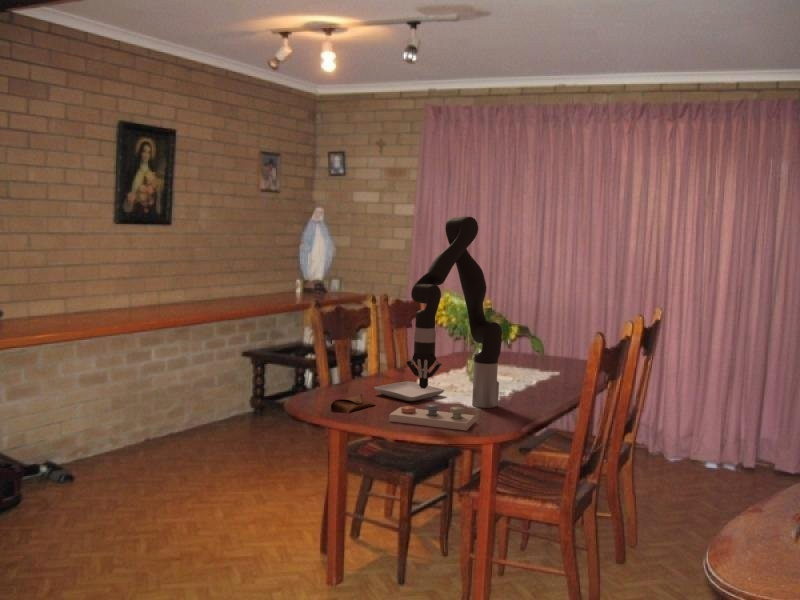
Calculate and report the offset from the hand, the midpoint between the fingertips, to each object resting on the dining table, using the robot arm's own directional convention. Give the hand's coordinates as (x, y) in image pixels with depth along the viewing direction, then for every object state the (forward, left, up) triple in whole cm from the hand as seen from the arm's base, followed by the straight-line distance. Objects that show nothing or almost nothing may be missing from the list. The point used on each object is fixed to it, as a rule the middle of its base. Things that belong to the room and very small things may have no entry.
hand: (423, 388), depth 279 cm
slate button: (-2, +3, -10) cm, 10 cm away
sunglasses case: (+16, -25, -12) cm, 32 cm away
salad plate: (-13, -37, -12) cm, 41 cm away
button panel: (-2, +3, -12) cm, 12 cm away
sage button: (-9, +9, -10) cm, 16 cm away
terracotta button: (+4, -3, -12) cm, 13 cm away
